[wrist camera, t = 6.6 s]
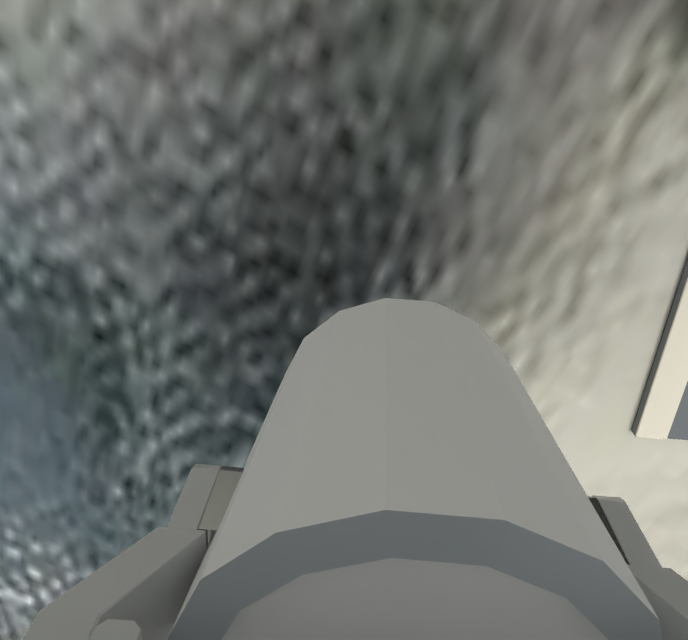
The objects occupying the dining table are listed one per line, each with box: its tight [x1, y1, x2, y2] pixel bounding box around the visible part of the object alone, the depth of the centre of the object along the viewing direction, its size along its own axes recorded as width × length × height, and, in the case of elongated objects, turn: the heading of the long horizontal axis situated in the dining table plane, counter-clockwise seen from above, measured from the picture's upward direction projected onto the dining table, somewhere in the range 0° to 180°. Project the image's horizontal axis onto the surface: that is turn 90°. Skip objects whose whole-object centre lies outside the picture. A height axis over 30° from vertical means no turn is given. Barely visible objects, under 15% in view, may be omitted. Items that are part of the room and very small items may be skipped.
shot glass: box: [168, 298, 663, 640], centre depth 11 cm, size 7×7×7 cm
